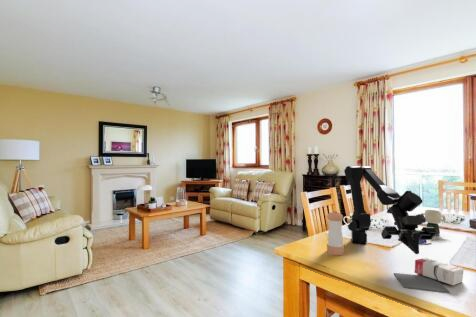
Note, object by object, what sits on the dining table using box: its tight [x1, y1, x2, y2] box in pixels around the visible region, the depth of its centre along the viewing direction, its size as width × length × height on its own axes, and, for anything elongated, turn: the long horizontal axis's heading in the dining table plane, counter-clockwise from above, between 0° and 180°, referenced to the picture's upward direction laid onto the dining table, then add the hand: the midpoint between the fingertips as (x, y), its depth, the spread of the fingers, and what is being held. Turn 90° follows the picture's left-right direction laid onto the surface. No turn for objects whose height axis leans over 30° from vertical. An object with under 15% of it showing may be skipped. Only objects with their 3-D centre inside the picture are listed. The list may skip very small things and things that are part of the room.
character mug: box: [420, 209, 446, 235], centre depth 145 cm, size 11×7×13 cm, turn 49°
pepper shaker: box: [326, 210, 345, 256], centre depth 118 cm, size 7×7×19 cm
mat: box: [393, 272, 450, 294], centre depth 89 cm, size 13×10×1 cm
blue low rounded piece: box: [419, 238, 432, 245], centre depth 134 cm, size 12×12×5 cm
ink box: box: [414, 257, 464, 286], centre depth 92 cm, size 8×5×12 cm
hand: (417, 253), depth 96 cm, fingers closed
